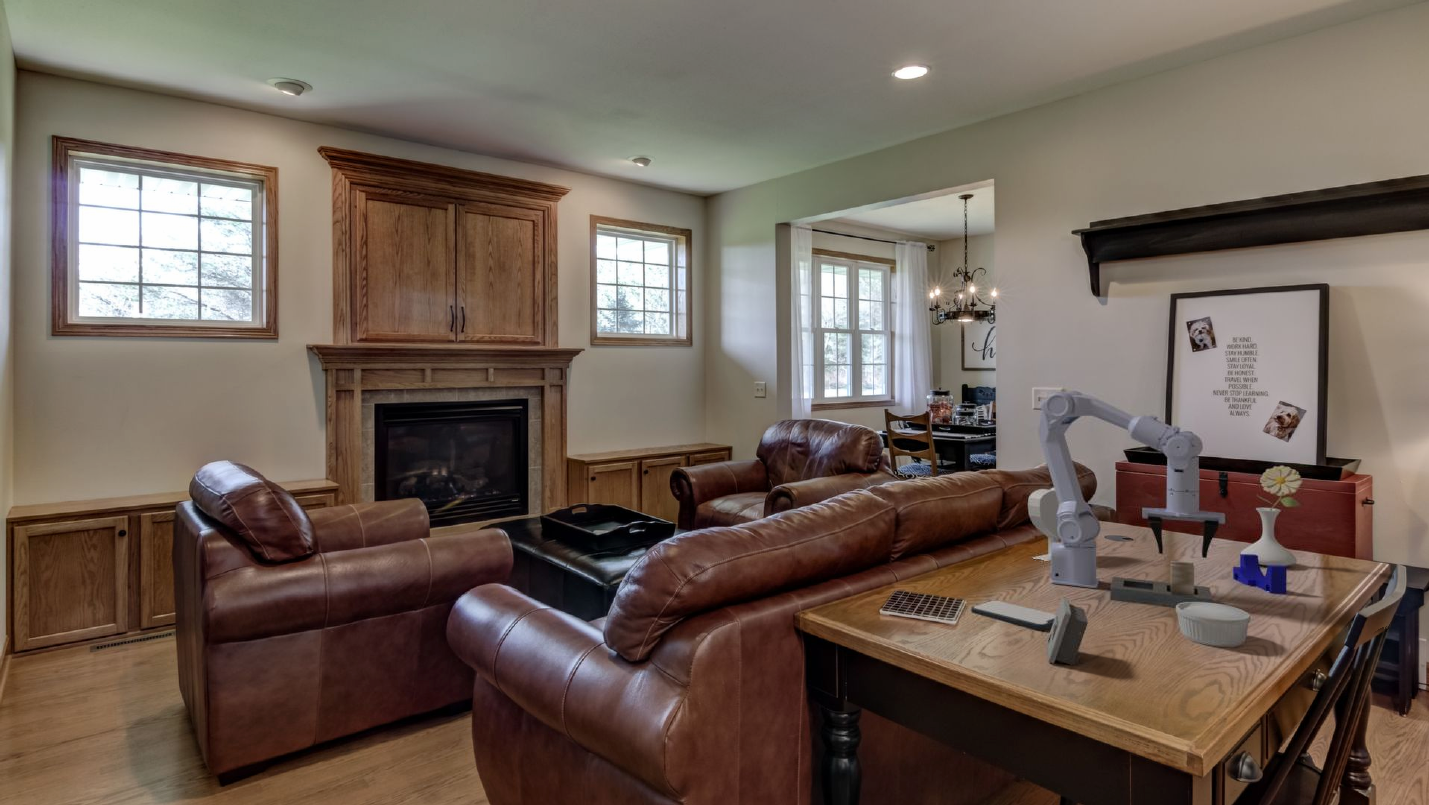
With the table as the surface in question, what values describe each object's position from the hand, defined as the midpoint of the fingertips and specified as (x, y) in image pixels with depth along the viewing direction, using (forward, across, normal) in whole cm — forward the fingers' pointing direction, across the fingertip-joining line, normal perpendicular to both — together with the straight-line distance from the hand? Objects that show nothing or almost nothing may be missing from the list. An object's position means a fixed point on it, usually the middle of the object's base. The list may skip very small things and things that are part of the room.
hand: (1182, 554), depth 156 cm
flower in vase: (+10, +20, +46) cm, 51 cm away
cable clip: (+10, +15, +22) cm, 28 cm away
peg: (+10, 0, 0) cm, 10 cm away
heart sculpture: (+10, -28, +30) cm, 42 cm away
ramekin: (+10, +4, -23) cm, 25 cm away
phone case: (+11, -28, -27) cm, 40 cm away
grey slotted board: (+10, -4, 0) cm, 11 cm away
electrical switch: (+10, -18, -45) cm, 50 cm away
